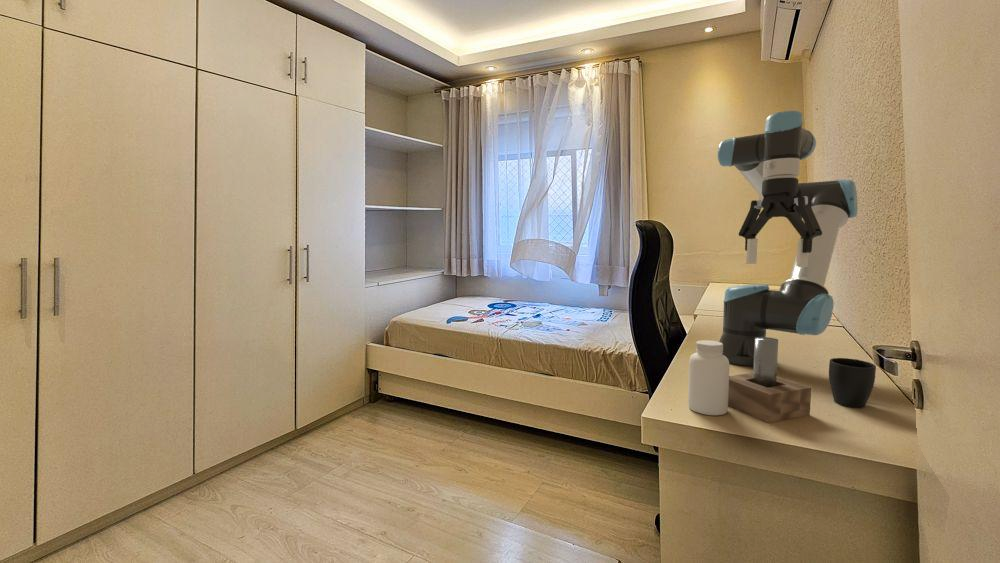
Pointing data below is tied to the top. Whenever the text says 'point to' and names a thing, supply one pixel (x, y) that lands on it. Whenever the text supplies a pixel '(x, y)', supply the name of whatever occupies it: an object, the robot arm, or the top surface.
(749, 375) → the socket block
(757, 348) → the peg
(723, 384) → the pill bottle
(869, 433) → the top surface
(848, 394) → the mug
